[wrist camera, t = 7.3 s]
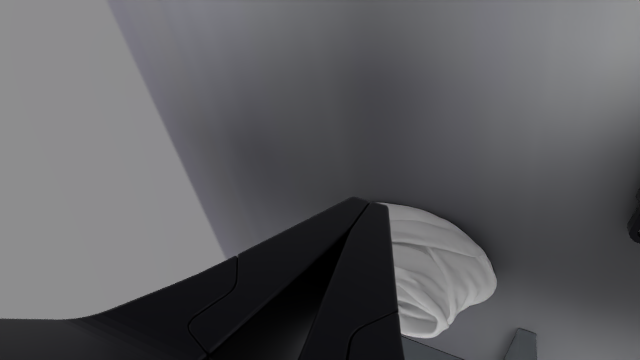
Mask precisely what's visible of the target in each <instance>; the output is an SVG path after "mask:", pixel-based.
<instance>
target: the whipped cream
mask: <svg viewBox="0 0 640 360" xmlns="http://www.w3.org/2000/svg"><path fill="white" fill-rule="evenodd" d="M380 204H383V205H387V206H388V208H389V218H390V228H391V239H392V249H393V259H394V269H395V280H396V290H397V300H398V310H399V313H398V314H399V318H400V329H401V334H404V335H407V336H412V337H419V338H433V337H435V336H437V335H439V334H440V333H441V332H442V331H443V330H445V329H448V328H449V325H450V324H451V323H452V322H453V321H454V319H455V317H456V316H457V315H458V313H459V312H461V311H463V310H464V309H466V308H467V307H468V306H470V305H475V304H479V303H481V302H483V301H485V300H487V299H488V298H489V297H490V296H491V295H492V294H493V293H494V291H495V289H496V287H497V278H496V275H495V273H494V271H493V268H492V265H491V262H490V261H489V259H488V258H487V256H486V254H485V252H484V251H483V249H482V248H481V247H480V246H478V245H477V244H476V243H475V242H474V241H473V240H472V239H471V238H470V237H469V236H468V235H467V234H465V233H464V232H463V231H462V230H460V229H459V228H458V227H457V226H455V225H454V224H452V223H450V222H449V221H447V220H445V219H442V218H440V217H438V216H436V215H434V214H431V213H429V212H426V211H424V210H421V209H417V208H413V207H409V206H403V205H396V204H389V203H380Z"/></svg>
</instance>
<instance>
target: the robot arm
mask: <svg viewBox="0 0 640 360" xmlns="http://www.w3.org/2000/svg"><path fill="white" fill-rule="evenodd" d="M636 198H637V200H638V203H639V206H638V208H637V209H636V211H635V213H634V214H633V216H632V218H631V220H630V221H629V223H628V226H627V229H628V232H629V235H630V238H631V239H632V240H633V241H635V242H637V243H640V232H638V231H639V230H640V189H639V191H638V193H637V195H636ZM398 313H399V310H398V300H397V290H396V280H395V269H394V259H393V249H392V239H391V228H390V218H389V208H388V206H387V205H383V204H380V203H376V202H369V201H368V200H365V199H361V198H357V197H351V198H349V199H347V200H345V201H343V202H341V203H339V204H337V205H335V206H333V207H331V208H329V209H327V210H325V211H323V212H321V213H319V214H317V215H315V216H313V217H311V218H309V219H307V220H305V221H303V222H301V223H299V224H297V225H295V226H293V227H291V228H289V229H287V230H285V231H283V232H281V233H279V234H277V235H276V236H274V237H272V238H270V239H268V240H266V241H264V242H262V243H260V244H258V245H256V246H254V247H252V248H250V249H248V250H246V251H244V252H242V253H240V254H238V257H237V256H234V257H232V258H230V259H228V260H226V261H224V262H222V263H220V264H218V265H215V266H213V267H211V268H209V269H207V270H205V271H203V272H201V273H199V274H197V275H194V276H191V277H189V278H187V279H184V280H182V281H180V282H177V283H175V284H173V285H170V286H168V287H165V288H162V289H160V290H158V291H155V292H153V293H150V294H147V295H145V296H143V297H140V298H137V299H135V300H132V301H130V302H127V303H125V304H123V305H120V306H117V307H115V308H112V309H110V310H107V311H104V312H101V313H99V314H95V315H91V316H87V317H82V318H76V319H66V320H65V319H63V320H52V319H49V320H48V319H0V360H405V356H404V350H403V343H402V336H401V329H400V318H399V314H398Z"/></svg>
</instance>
